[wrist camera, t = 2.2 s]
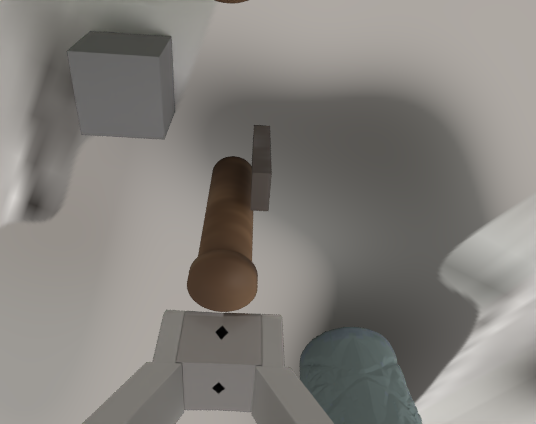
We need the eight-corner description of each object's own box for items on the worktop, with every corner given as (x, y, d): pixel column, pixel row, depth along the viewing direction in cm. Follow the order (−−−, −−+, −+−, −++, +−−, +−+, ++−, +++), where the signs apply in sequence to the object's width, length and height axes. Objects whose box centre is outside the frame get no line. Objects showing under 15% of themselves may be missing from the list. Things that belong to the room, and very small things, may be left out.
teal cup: (269, 358, 43) (272, 500, 33) (356, 301, 39) (389, 443, 29) (342, 403, 47) (363, 541, 37) (427, 356, 43) (477, 497, 33)
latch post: (269, 126, 30) (273, 228, 21) (264, 197, 33) (265, 313, 24) (207, 122, 29) (184, 223, 20) (208, 194, 32) (187, 310, 24)
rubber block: (171, 36, 27) (159, 57, 23) (175, 111, 29) (164, 139, 26) (91, 30, 26) (66, 50, 23) (101, 106, 29) (81, 134, 26)
